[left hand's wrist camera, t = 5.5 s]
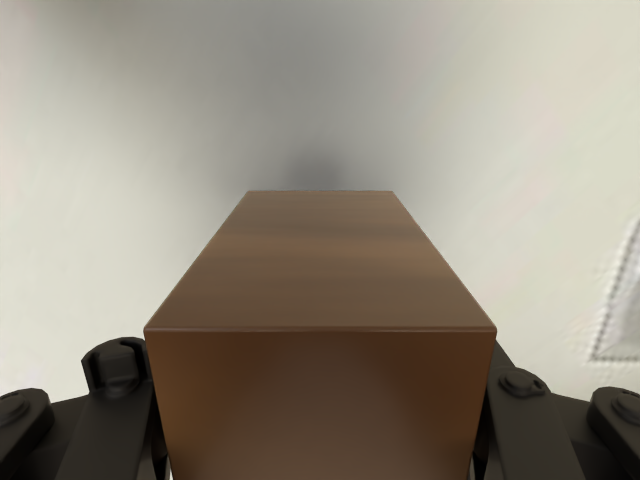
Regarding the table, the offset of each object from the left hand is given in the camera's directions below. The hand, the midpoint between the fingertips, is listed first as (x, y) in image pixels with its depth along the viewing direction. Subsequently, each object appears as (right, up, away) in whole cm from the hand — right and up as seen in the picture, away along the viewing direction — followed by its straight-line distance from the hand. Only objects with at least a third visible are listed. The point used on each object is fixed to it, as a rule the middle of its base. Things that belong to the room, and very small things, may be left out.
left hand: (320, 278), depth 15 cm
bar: (0, -8, +4) cm, 9 cm away
